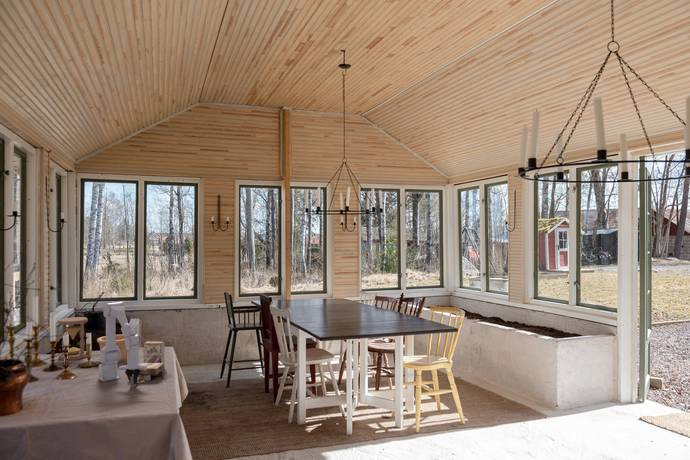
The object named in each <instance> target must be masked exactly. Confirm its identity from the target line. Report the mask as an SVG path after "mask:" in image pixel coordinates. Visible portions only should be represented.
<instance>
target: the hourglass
mask: <svg viewBox="0 0 690 460" xmlns="http://www.w3.org/2000/svg"><path fill="white" fill-rule="evenodd" d="M88 320H89V319H88V318H87V317H86V316H84V317H83V316H75V317H73V316H72V317H65V318H61V319H58V321H57V323H58V325H61V328H62V329H61V335H62V337H63V335H64V333H65V332H66V333H67V334H69V336H70V337H71V340H75V337H76V335H77V334H78V333H79V337H80V341H79V348H78V347H75V346H72V347H70V348H68V349H67V350H68V356H67V357H68V360H67V361H75V360H81V359H84V358H85V359H86V358H87V357H86V352H87V351H86V350H85V343H86V342H85V340H84V337H85V323H88ZM69 325H70V326H69ZM61 346H62V348H63V339H62V341H61ZM63 353H64V352H63V351H62V353H60V354H58V360H61V361H65V360H64V354H63Z"/></svg>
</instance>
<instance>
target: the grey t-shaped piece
mask: <svg viewBox="0 0 690 460" xmlns="http://www.w3.org/2000/svg"><path fill="white" fill-rule="evenodd" d="M151 377H152V376H151V375H138V378H137V382H138V381H139V380H141V379H146V381H149V382H150V381H151V380H152V379H151ZM129 385H130V389H134V388H136V387H137V383H136V384H134V377H133V375H132V376H130V383H129Z"/></svg>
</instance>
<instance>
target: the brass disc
mask: <svg viewBox="0 0 690 460" xmlns="http://www.w3.org/2000/svg"><path fill="white" fill-rule="evenodd" d="M146 381H147V380H146V379H141V380H139V381H138V382H137V383H136V384H143V383H146Z"/></svg>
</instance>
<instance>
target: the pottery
mask: <svg viewBox="0 0 690 460" xmlns="http://www.w3.org/2000/svg"><path fill="white" fill-rule="evenodd" d="M96 342H97V344H98V345H99V350H100V353H101V349H102V348H103V347H105V346H106V335H105V336H101V337H98V338H97V339H96ZM115 345H116V346H117V347H119V348H120V354H121V357H120V360H118V362H117V364H118V363H123V362H127V350H126V345H125V337H124V335H123V334H115Z"/></svg>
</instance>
